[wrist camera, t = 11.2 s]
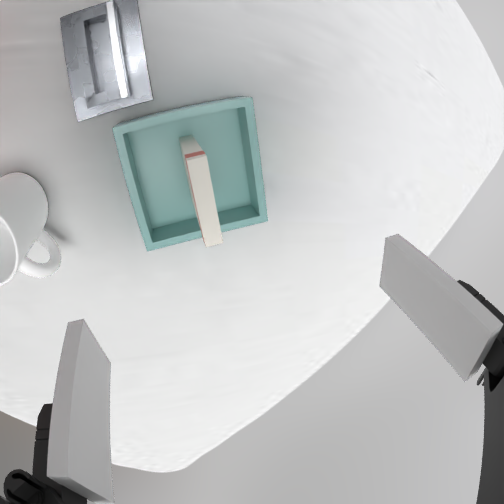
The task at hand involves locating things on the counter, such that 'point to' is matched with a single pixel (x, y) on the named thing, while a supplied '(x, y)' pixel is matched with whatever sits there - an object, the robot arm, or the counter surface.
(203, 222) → the cream red-striped panel
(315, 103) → the counter surface
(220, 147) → the tray
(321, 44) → the counter surface
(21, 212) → the mug
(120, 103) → the metal rectangular holder
